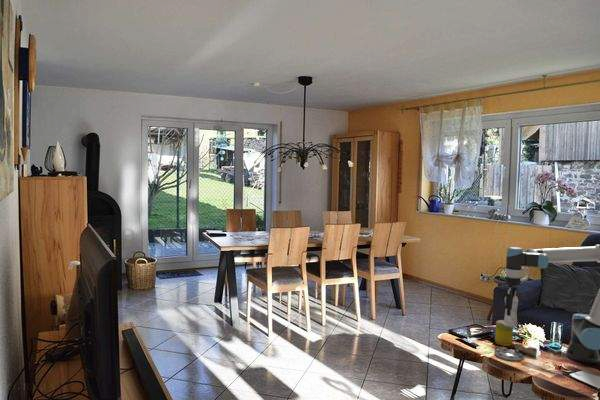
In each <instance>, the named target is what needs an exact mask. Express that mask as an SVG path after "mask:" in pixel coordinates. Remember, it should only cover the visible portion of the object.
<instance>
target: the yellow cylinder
mask: <svg viewBox="0 0 600 400" xmlns="http://www.w3.org/2000/svg"><path fill="white" fill-rule="evenodd" d="M494 333H495V336H494V338H495V339H494V343H495V344H497V345H499V346H504V347H511V346H512V345H513V337H514V336H513V335H514V328H511V327H507V326H505V325H504V319H498V320H496V321H495V332H494Z"/></svg>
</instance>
